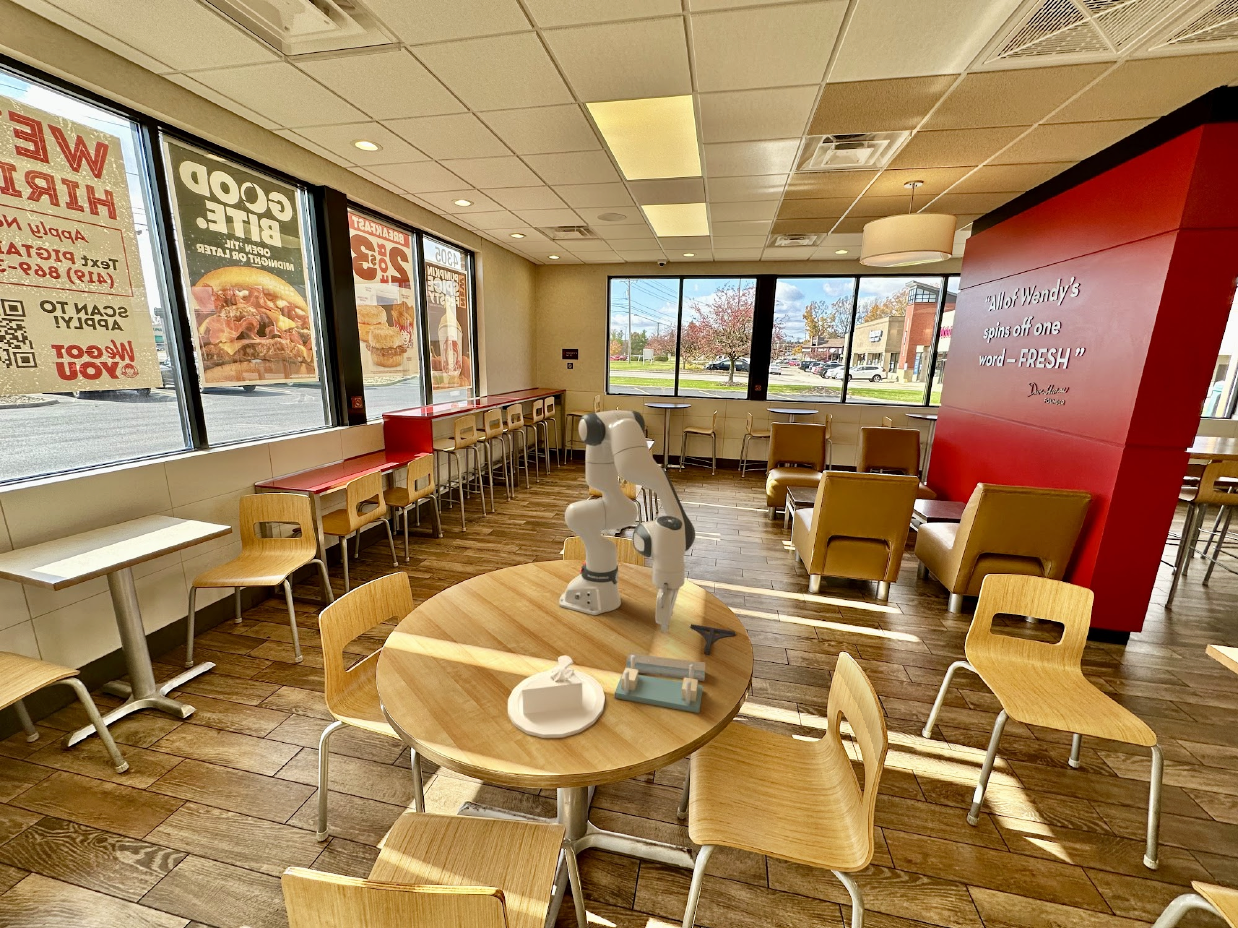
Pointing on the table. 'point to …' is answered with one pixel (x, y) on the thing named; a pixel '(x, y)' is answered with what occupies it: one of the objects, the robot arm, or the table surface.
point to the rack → (660, 690)
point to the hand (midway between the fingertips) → (667, 622)
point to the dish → (556, 702)
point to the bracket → (711, 635)
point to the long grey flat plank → (666, 666)
